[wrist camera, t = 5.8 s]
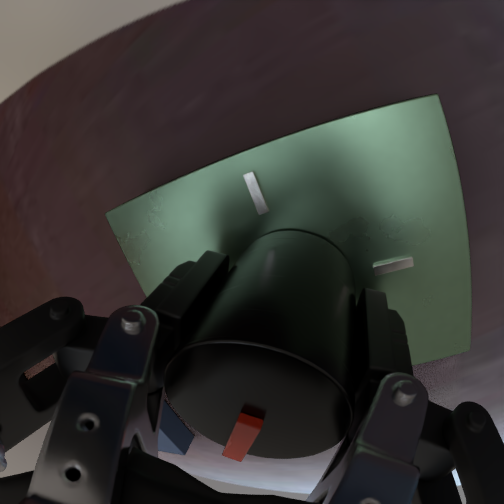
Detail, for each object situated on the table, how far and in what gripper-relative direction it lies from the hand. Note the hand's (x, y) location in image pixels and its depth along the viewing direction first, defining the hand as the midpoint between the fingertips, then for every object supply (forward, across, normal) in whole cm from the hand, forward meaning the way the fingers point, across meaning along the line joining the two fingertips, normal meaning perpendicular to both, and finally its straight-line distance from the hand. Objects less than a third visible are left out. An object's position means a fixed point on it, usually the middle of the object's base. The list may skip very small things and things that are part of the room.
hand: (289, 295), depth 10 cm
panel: (+4, 0, 0) cm, 4 cm away
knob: (+1, 0, 0) cm, 1 cm away
